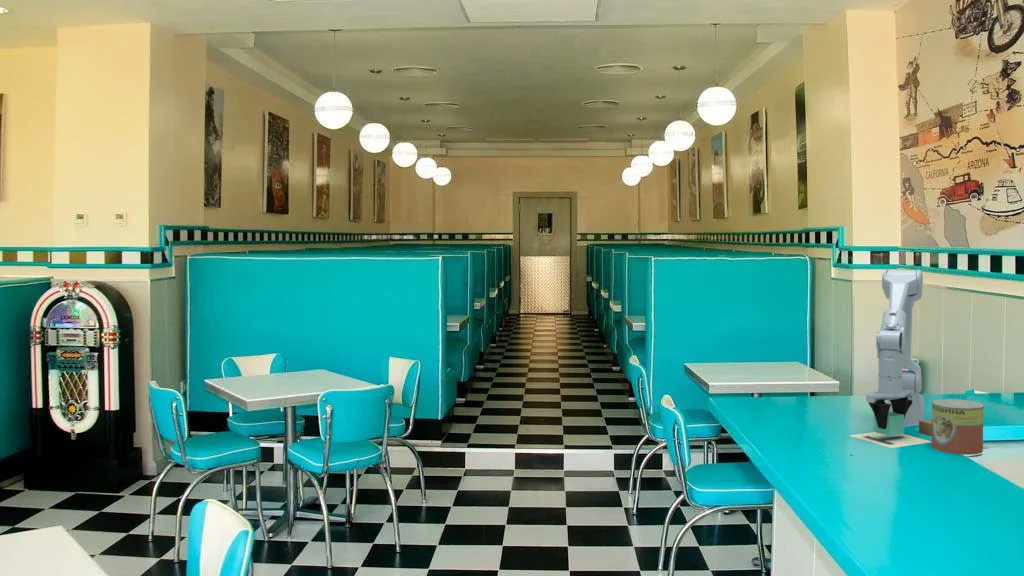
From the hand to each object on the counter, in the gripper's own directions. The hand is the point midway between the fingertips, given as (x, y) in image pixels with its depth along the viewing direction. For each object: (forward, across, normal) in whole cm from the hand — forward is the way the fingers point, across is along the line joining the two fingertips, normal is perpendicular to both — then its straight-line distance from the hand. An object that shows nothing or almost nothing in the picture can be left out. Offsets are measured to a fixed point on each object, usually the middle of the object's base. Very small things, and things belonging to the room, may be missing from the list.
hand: (890, 427), depth 205 cm
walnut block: (+2, +12, 0) cm, 12 cm away
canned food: (+4, +7, -14) cm, 16 cm away
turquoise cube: (+2, 0, 0) cm, 2 cm away
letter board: (+4, 0, 0) cm, 4 cm away
